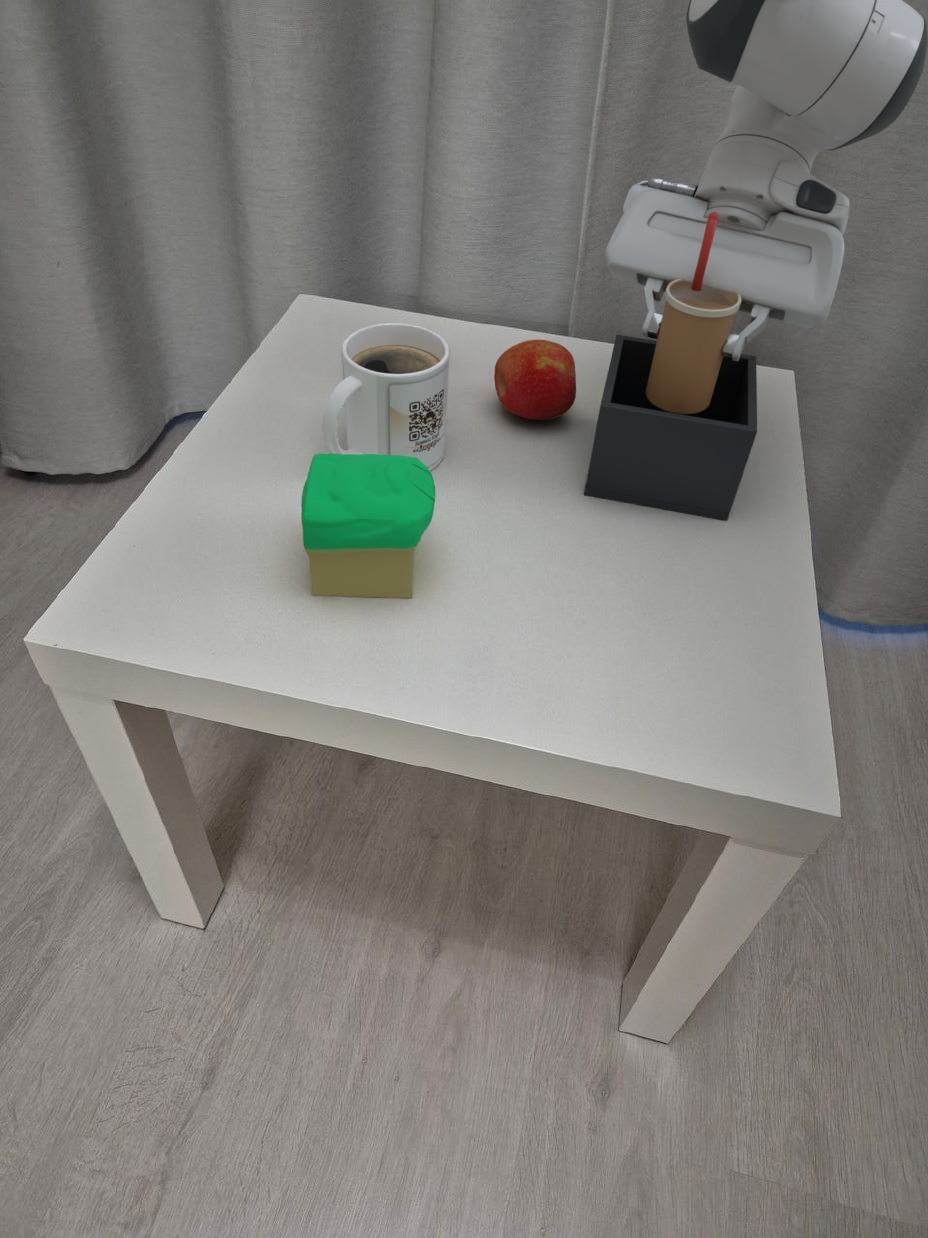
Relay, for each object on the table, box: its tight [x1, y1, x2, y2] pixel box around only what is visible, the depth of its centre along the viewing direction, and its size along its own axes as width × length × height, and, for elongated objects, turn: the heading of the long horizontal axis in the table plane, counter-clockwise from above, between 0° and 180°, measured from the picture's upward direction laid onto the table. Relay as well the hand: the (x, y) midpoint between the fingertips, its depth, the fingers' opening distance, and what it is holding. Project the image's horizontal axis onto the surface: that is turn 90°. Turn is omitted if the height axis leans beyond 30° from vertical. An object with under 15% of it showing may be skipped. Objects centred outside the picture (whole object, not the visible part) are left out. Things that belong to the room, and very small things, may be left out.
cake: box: [301, 452, 436, 599], centre depth 72 cm, size 10×11×10 cm
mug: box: [322, 322, 450, 472], centre depth 83 cm, size 10×12×11 cm
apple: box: [493, 339, 577, 421], centre depth 91 cm, size 8×8×8 cm
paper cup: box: [646, 212, 742, 414], centre depth 76 cm, size 6×6×16 cm
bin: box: [583, 334, 758, 521], centre depth 84 cm, size 14×14×10 cm
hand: (689, 346), depth 78 cm, fingers closed on paper cup, 6 cm apart
